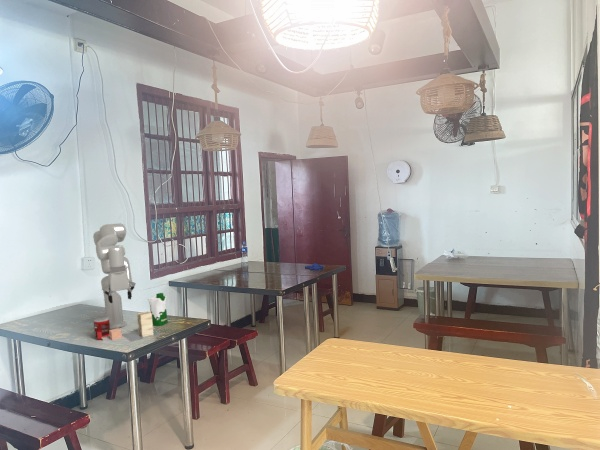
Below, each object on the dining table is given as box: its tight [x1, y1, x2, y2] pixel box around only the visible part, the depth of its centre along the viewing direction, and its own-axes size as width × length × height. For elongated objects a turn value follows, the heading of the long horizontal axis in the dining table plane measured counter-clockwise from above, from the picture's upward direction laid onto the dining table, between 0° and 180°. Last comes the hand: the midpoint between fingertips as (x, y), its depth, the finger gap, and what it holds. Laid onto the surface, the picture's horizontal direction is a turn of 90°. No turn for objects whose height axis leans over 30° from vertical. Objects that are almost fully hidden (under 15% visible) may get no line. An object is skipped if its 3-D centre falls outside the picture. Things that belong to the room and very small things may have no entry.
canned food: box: [93, 316, 111, 341], centre depth 245 cm, size 8×8×11 cm
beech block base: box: [137, 324, 154, 337], centre depth 241 cm, size 6×6×6 cm
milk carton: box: [147, 292, 169, 327], centre depth 260 cm, size 9×9×20 cm
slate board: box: [122, 329, 161, 343], centre depth 242 cm, size 18×16×2 cm
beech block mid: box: [136, 311, 153, 326], centre depth 240 cm, size 6×6×6 cm
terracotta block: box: [109, 328, 123, 341], centre depth 238 cm, size 5×5×6 cm
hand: (120, 300), depth 235 cm, fingers open, 9 cm apart
